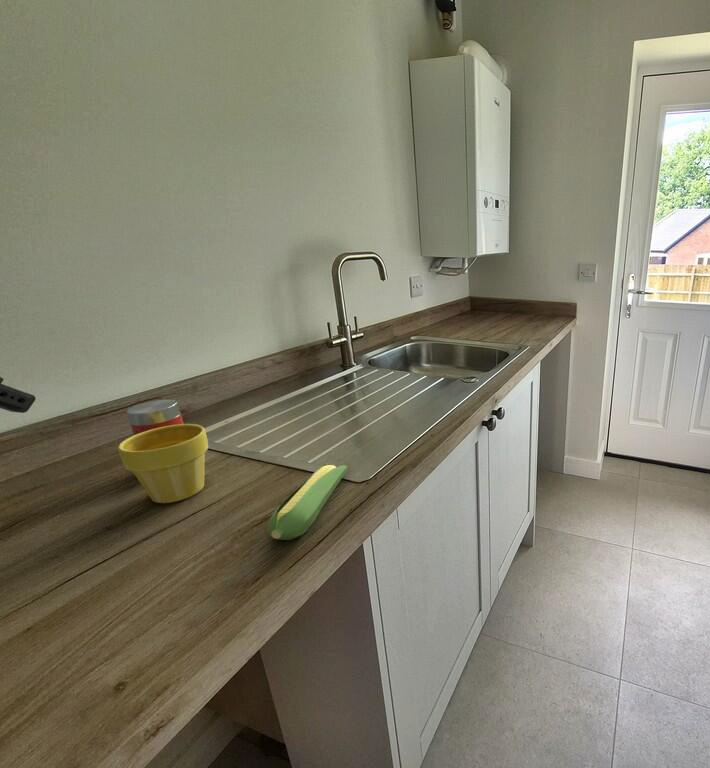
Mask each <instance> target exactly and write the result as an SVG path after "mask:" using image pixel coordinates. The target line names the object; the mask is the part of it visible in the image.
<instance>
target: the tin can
mask: <svg viewBox="0 0 710 768" xmlns="http://www.w3.org/2000/svg"><path fill="white" fill-rule="evenodd" d="M126 413H127V417H128V419H129V425H130V428H131V431H132V434H133V436H134V435H136V434H139V433H142V432H145V431H148V430H152V429H156V428H160V427H165V426H171V425H178V424H185V422H184V418H183V415H182V413H181V411H180V407H179V404H178V402H177V400H175V399H156V400H151V401H146V402H143V403H139V404H136V405H133V406H131V407H129V408H128V409H127V410H126Z"/></svg>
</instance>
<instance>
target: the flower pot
mask: <svg viewBox="0 0 710 768" xmlns="http://www.w3.org/2000/svg"><path fill="white" fill-rule="evenodd" d="M208 449H209V441H208V436H207V432H206V429H205V427H203V426H202V425H200V424H197V423H196V424H194V423H184V424H178V425H171V426H165V427H160V428H156V429H152V430H148V431H145V432H142V433H139V434H136V435H134V434H133V435H132V436H130V437H128V438H126V439H124V440H123V441H121V442H120V443H119V445H118V447H117V451H118V454H119V457H120V460H121V462H122V465H123V467H124V469H125V470H127V471H129V472H132V473H133V474H134V476H135V477H136V479H137V480H138V482H139V483H140V485H141V486H142V487H143V489H144V490H145V492H146V493H147V495H148V496H149V498H150V499H151V500H152V502H154V503H157V504H171V503H175V502H180V501H182V500H187V499H189V498H191V497H193V496H195V495H196V494H198V493H199V492H201V490H203V489H204V487H205V455H206V452H207V451H208Z"/></svg>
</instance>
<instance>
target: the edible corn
mask: <svg viewBox="0 0 710 768" xmlns="http://www.w3.org/2000/svg"><path fill="white" fill-rule="evenodd" d="M327 463H328V460H325V461H324V462H323V463H322V464H321V465H320V466H319V467H318V468H317V469H316V470H315V471H314V472H313V473H312V474H310V476H309V477H308V478H306V480H304V482H303V483H302V484H301V485H300V486H298V487H297V488H296V490H295V491H294V492H292V493H291V494H290V495H289V496H288V497H287V498H286V499H284V501H283V502H282V503H281V504H280V505H279V506H278V507H277V508H276V509H275V510H274V511H273V513H272V515H271V516H270V518H269V520H268V535H269V536H270V537H271V538H272V539H275V540H281V541H288V540H291V541H292V540H294V539H296V538H299V537H300V536H302V535H304V534H305V533H306V532H307V531H308V530H309V529H310V527H311V526H312V524H313V523H314V522H315V520H316V519H317V517H318V516H319V514H320V513H321V511H322V510H323V508H324V507H325V505H326V503H328V500H329V499H330V497H331V496H332V494H333V493H334V491H335V489H336V488H337V486H338V485H339V483H340V482H341V481H342V479H343V478H344V476H345V475H346V474H347V472H348V470H349V469H350V467H348V465H345V464H342V465H339V466H335V465H334V464H327Z"/></svg>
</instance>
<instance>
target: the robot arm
mask: <svg viewBox="0 0 710 768" xmlns="http://www.w3.org/2000/svg"><path fill="white" fill-rule="evenodd" d="M4 380H5V378H3V377H1V376H0V410H1V409H2V410H4V411H8V412H11V413H21V414H24V413H26V412H28V411H29V410H30V409H31V407H32V405H33V404H34V403H35V402H36V400H37V399H36V396H35V395H34V394H32V393H29V392H25V391H23V390H20V389H17V388H15V387H12V386H9V385H6V384H4V383H3V381H4Z"/></svg>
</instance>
